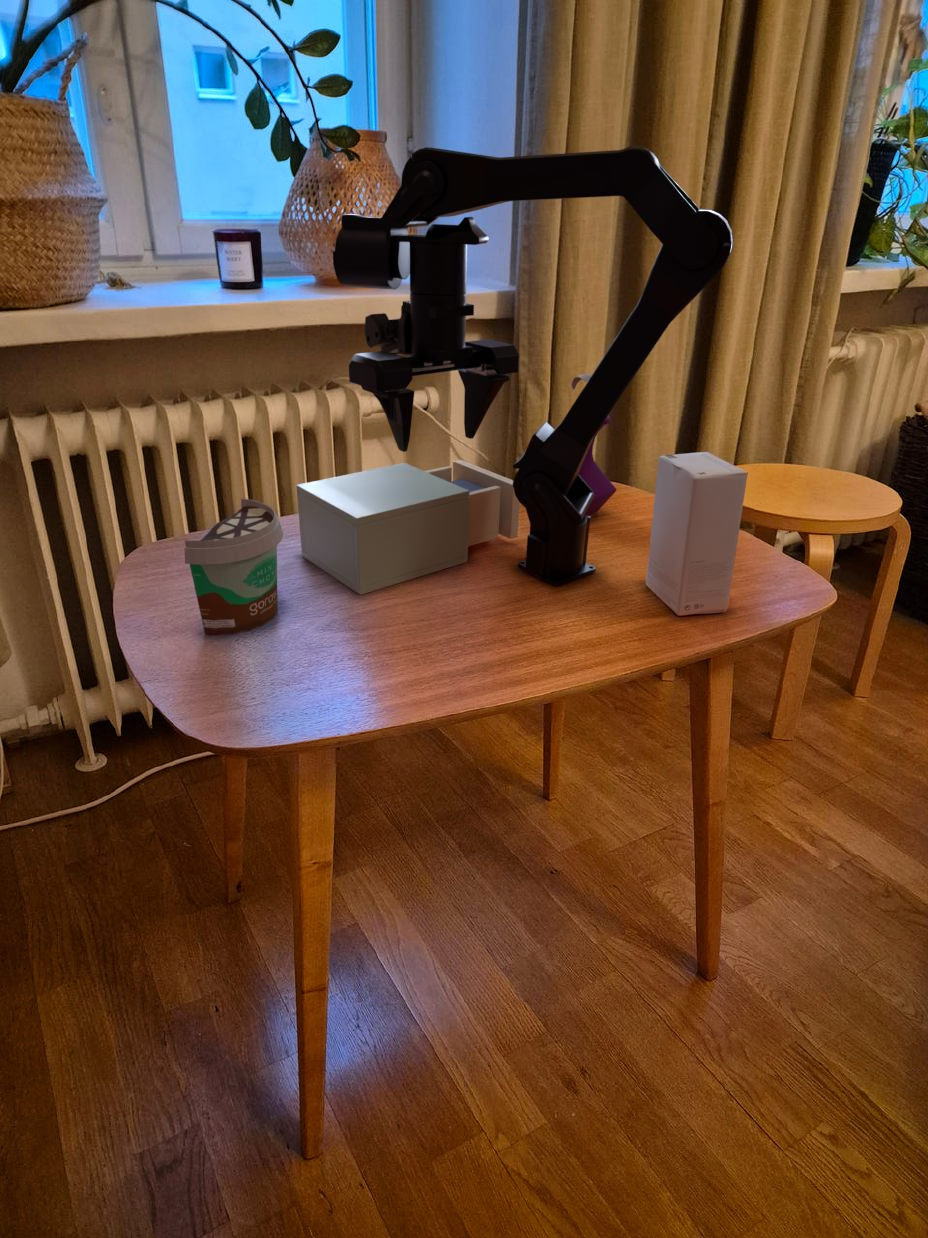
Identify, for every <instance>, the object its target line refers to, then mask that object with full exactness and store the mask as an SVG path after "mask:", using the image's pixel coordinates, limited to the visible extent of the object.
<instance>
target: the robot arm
mask: <svg viewBox="0 0 928 1238" xmlns="http://www.w3.org/2000/svg"><path fill="white" fill-rule="evenodd" d="M400 182H401V183H400V187H398V190H397V192H396V193H395V195H394V196H393V198H392V200H391V201H390V203H389V205H388V206H387V208H386V209H385V211H384V213H383V214H382V216H381V217H379V216H366V215H364V214H359V213H357V214H356V213H346V214H345V213H344V214H342V215H341V216H340V217H341V228H340V229H339V231H338V233H337V235H336V239H335V244H334V250H333V251H332V262H333V269H334V275H335V277H336V280H337V281H338V282H339V284H340V285H341V286H342V287H346V288H363V289H377V290H393V291H395V290H397V289H398V288H400V286H401V284H402V282H403V280H407V279H408V278H409V300H404V301H402V305H401V307H400V317H398V318H393V319H389V316H388V315H387V313H385V312H382V313H371V314H369V315H367V316H365V317H364V336H365V342H366V344H367V347H369V349H375V348H380V350H378V351H368V352H359V353H354V354H353V356H352V358H351V360H350V361H349V364H348V381H349V383H352V384H355V385H358V386H360V387H361V389H362V391H365V392H368V393H370V394H372V395H373V396H374V397H375V398H376V400H377V401H378V402H379V405H380V407H381V408H382V411H383V412H384V414H385V417H386V420H387V423H388V425H389V427H390V430H391V433H392V435H393V439H394V441H395V444H396V447H397V449H398V450H399V451H400V452H403V453H405V452H407V451H408V449H409V444H410V438H411V430H412V421H413V409H414V401H415V390H414V389H409V388H408V387H409V385H410V384H411V382H412V381H413V377H416V376H424V375H430V374H431V375H432V374H437V373H438V374H439V373H445V372H446V373H447V372H454V371H457V372H458V374H459V377H460V380H461V382H462V384H463V388H464V395H463V396H464V400H463V402H464V403H463V405H464V406H463V407H464V408H463V409H464V410H463V426H464V437H465V438H467V439H471V440H473V439H474V438H475V436H476V434H477V433H478V430H479V428H480V426H481V425H482V422H483V421H484V419H485V416H486V414H487V412H488V411H489V409H490V407H491V405H492V403H493V402H494V401H495V399H496V397H497V395H498V394H499V392H500V390H501V389H502V387H503V386H504V384H505V383H506V382H510V380H511V375H509V374H517V373H519V370H520V354H519V352H518V350H517V348H516V346H515V344H512V343H508V342H502V341H498V340H493V339H489V338H488V339H478V340H471V341H470V340H469V341H466V328H467V327H466V326H467V325H466V323H467V322H466V321H467V320H466V319H467V317H468V316H469V317H471V316H474V315H475V304H472V303H467V279H468V278H467V276H468V275H467V273H468V270H467V269H468V245H469V246H477V245H482V244H483V245H484V244H487V243H489V239H490V238H489V236H488V235H487V234H486V233H485V232H484V231H483V229H482V228H480V227H479V225H478V224H477V222H476V220H475V218H474V217H473V216H465V217H463V218H462V220H461V221H460V222H459V223H458V224H444V223H442V224H439V223H434V222H435V221H436V220H438V219H439V218H450V217H456V216H459V215H463V214H468V213H472V212H475V211H476V212H477V211H480V210H483V209H486V208H490V207H494V206H497V205H501V204H505V203H508V202H521V201H522V202H524V201H543V200H544V201H545V200H547V201H548V200H567V199H568V200H569V199H589V198H590V199H591V198H608V197H609V198H610V197H621V198H624V199H625V201H626V202H627V203H628V204H629V205H630V206H631V208H632V209H633V210H634V211H635V212H636V214H637V216H638V217H640V219H641V220H642V221H643V223H644V224H645V225H646V226H647V228H648V229H649V230H650V231H651V233H652V234H653V236H655V237H656V239H658V241H659V242H660V243H661V247H660V249H659V251H658V253H657V255H656V257H655V260H654V263H653V265H652V267H651V270H650V272H649V275H648V278H647V280H646V282H645V285H644V288H643V290H642V292H641V295H640V298H639V299H638V302H637V304H636V305H635V307H634V309H633V310H632V311H631V313H630V315H629V316H628V318H627V319H626V321H625V323H624V324H623V326H622V328H621V329H620V330H619V332H618V333H617V335H616V337H615V338H614V339H613V341H612V343H611V344H610V346H609V348H608V349H607V351H606V353H605V354H604V356H603V357H602V358H601V360H600V362H599V363H598V365H597V366H596V368H595V369H594V371H593V372H592V373H591V374H592V376H591V377H590V379H589V380H588V382H587V383H585V385H584V387H583V388H582V390H581V391H580V393H579V394H578V396H577V397H576V399H575V401H574V402H573V404H572V405H571V407H570V408H569V410H568V412H567V413H566V415H565V416H564V418H563V420H562V421H561V422H560V423H559V424H558V425H557V426H556V427H555V428H554V427H552V426H551V424H549V423H548V422H547V421H545V422H543V424H541V426H540V427H539V428H538V429H536V431H535V432H534V433H533V434H532V436H531V438H530V440H529V441H528V445H527V447H526V449H525V451H524V453H522V455H521V456H520V457H518V459H517V460H516V462H514V464H512V468H513V469H516V470H517V471H516V473H515V474H514V477H513V479H512V480H513V488H514V492H515V496H516V497H517V499H518V501H519V502H520V503H519V504H520V505H522V506H523V507H524V508H525V511H526V514H527V515H526V516H527V518H528V521H529V534H527V539H526V552H525V554H526V555H525V559H524V560H521V561H518V562H517V567H518V568H519V569H521V570H523V571H525V572H526V573H529V574H531V575H533V576H535V577H537V578H539V579H541V580H543V581H545V582H547V583H549V584H551V585H553V586H560V585H563V584H566V583H569V582H572V581H575V580H577V579H580V578H583V577H585V576H588V575H591V574H594V573H596V570H597V568H596V566H594V565H592V564H589V563H588V562H587V555H588V546H589V535H590V526H591V515H589V516H587V515H585V513H586V511H587V509H588V507H589V505H590V503H591V501H592V499H593V497H594V495H595V493H594V491H593V490H592V489H591V488H590V487H589V485H588V484H587V483H586V482H585V481H584V480H583V478H582V477H581V476H580V475H579V474H578V473H579V471H580V469H581V466H582V464H583V462H584V460H585V457H586V455H587V453H588V450H589V448H590V445H591V443H592V440H593V438H594V436H595V434H596V432H597V431H598V429H599V428H600V426H601V425H602V423H603V422H604V420H605V419H606V417H607V416H609V414H610V413H611V412H612V410H613V409H614V407H615V405H616V404H617V403H618V401H619V400H620V399H621V397H622V395H623V394H624V392H625V391H626V389H627V388H628V386H629V385H630V383H631V382H632V380H633V379H634V378H635V376H636V375H637V373H638V372H639V370H640V368H641V367H642V366H643V364H644V363H645V361H646V359H647V358H648V357H649V355H650V354H651V352H652V351H653V349H654V348H655V346H656V345H657V343H658V342H659V340H660V339H661V338H662V336H663V334H665V331H666V330H667V328H668V327H669V325H670V324H671V323H672V322H673V321H674V320H675V319H676V318H677V317H678V316H679V315H680V314H681V313H682V311H683V310H685V308H686V307H688V305H689V304H690V303H691V302H692V301H694V299H695V298H696V297H697V296H698V295H699V294H700V293H701V292H702V290H704V289H705V288H706V286H707V285H708V284H709V283H710V282H711V281H712V280H713V279H714V278H715V277H716V276H717V275H718V273H719V272H720V271H721V270H722V269H723V268H724V267H725V265H726V263H727V261H728V259H729V257H730V255H731V252H732V249H733V242H734V240H733V230H732V228H731V226H730V224H729V222H728V220H727V219H726V218H725V217H724V216H723V215H722V214H721V213H719V212H716V211H714V210H712V209H700V208H699V207H698V206H697V204H696V203H695V202H694V201H693V200H692V199H691V197H689V195H688V194H687V193H686V192H685V190H684V189H682V187H681V186H680V185H679V184H678V183H677V182H676V181H675V180H674V179H673V178H672V177H671V176H670V175H669V173H668V172H667V171H666V170H665V169H664V167H663V166H662V165H661V164H660V162H659V159H658V157H657V155H655V154H654V152H652V151H651V150H649V149H648V148H646V147H644V146H639V145H630V146H627V147H625V148H622V149H614V150H613V149H612V150H599V151H598V150H597V151H582V152H581V151H580V152H567V153H565V152H564V153H551V154H535V155H518V156H504V157H503V156H502V157H501V156H500V157H499V156H491V155H484V154H478V153H471V152H463V151H457V150H450V149H444V148H435V147H428V146H427V147H422V148H419V149H417V150H415V151H414V152H412V153H411V155H410V156H409V158H408V159H407V161H406V162H405V164H404V167H403V169H402V172H401V181H400ZM432 223H433V224H432ZM429 225H430V226H429ZM415 227H416V228H418V227H428V228H427V231H426V232H425V234H408V228H415ZM408 355H409V356H408ZM406 356H408V357H406Z"/></svg>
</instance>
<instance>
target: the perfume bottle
mask: <svg viewBox="0 0 928 1238" xmlns="http://www.w3.org/2000/svg"><path fill="white" fill-rule="evenodd" d="M592 374H593V373H583V374H579V375H577V376H574V378H573V379H572V381H571V388H572V390H573V391H574V390H575V389H576V387H577V385H578V383H580V381H581V380H582V381H584V382H585V384H587V382H588V380H589V379H590V377H591V376H592ZM608 424H611V417H610V416H609V415H608V416H607V417H606V419H605V420H604V422H603V423H602V425H601V426H600V428H599V429H598V431H597V432H596V434H595V436H594V438H593V440H592V443H591V445H590V448H589V450H588V453H587V455H586V457H585V460H584V462H583V464H582V466H581V469H580V471H579V473H578V474H579V475H580V476H581V477H582V478H583V480H584V481H585V482H586V483H587V484H588V485H589V487H590V488H591V489H592V490H593V491H594V493H595V495H594V497H593V499H592V501H591V503H590V505H589V507H588V509H587V511H586V513H585V515H587V516H592V515H594V514H596V513H598V512H599V510H600V509H601V508H602V507H603V506H605V504H606V503H607V502H608V501H609V500H610V499H611V497H612V496H613V495H614V494H615V493H616V492H617V488H616V486H615V485H614V484H613V483H612V482H611V480H610V479H609V478H608V477H607V476H606V475H605V473H604V472H603V471H602V470H601V468H600V467H599V465H598V464H597V463H596V460H595V459H594V455H593V449H594V444H595V441H596V437H597V435H598V433H599V432H600V431H601V430H602V429H603V427H604V426H605V425H608Z"/></svg>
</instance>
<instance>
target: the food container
mask: <svg viewBox="0 0 928 1238" xmlns="http://www.w3.org/2000/svg"><path fill="white" fill-rule="evenodd" d="M240 502H241V503H240V505H241V508H240V509H238V511H237V512H236V513H234V514H233V515H231V516H230V517H227V518H224V519H222V520H220V521H218V522H217V523H216V524H215V525H214V526H213V527H212V528H211V529H210V530H209V531H208V533H206V534H205V535H204V537H203V538H200V540H191V539H185V540H184V544H185V547H184V564H187V565H189V567H190V572H191V577H192V583H193V587H194V591H195V595H196V600H197V604H198V608H199V613H200V617H201V622H202V627H203V632H204V635H214V636H215V635H216V636H218V635H219V636H221V635H235V634H240V633H244V632H245V633H246V632H250V631H252V630H255V629H257V628H260V627H262V626H265V625H266V624H267V623H270V622H271V621H272V620H273V619H274V618H275V617H276V615H277V613H278V548H277V547H278V545H279V544H280V543H281V542H282V541H283V538H284V531H283V528H282V525H281V522H280V518H279V515H277V514H276V512H275V510H274V508H272V507H271V506H270V505H268V504H266V503H264V502H261V501H258V500H254V499H250V498H243V497H241V498H240Z"/></svg>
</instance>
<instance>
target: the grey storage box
mask: <svg viewBox="0 0 928 1238" xmlns="http://www.w3.org/2000/svg"><path fill="white" fill-rule="evenodd" d="M425 471H426V470H422V469H420V468H418V467H416V466H412V465H411V464H408V463H406V462H401V463H395V464H391V465H387V466H386V465H385V466H382V467H377V468H372V469H366V470H363V471H358V472H357V471H356V472H353V473H348V474H343V475H342V474H341V475H338V476H334V477H329V478H324V479H319V480H315V481H309V482H303V483H299V484H296V496H297V497H296V498H297V511H298V520H299V522H298V523H299V534H300V535H299V537H300V549H301V557H303V558H304V559H306V560H307V561H309V562H310V563H312V564H313V565H315V566H316V567H318V568H319V569H321V570H323V571H324V572H325V573H326V574H329V575H330V576H331V577H333V578H334V579H335V580H337V581H339V582H340V583H341V584H343V585H344V586H346V587H347V588H349V589H350V590H352V591H353V592H355V593H357V594H358V595H359V596H361V595H364V594H368V593H371V592H374V591H377V590H382V589H384V588H387V587H390V586H393V585H397V584H400V583H403V582H406V581H409V580H413V579H416V578H420V577H423V576H426V575H429V574H433V573H437V572H439V571H441V570H445V569H448V568H453V567H455V566H458V565H461V564H464V563H468V559H469V552H468V551H469V546H468V526H469V490H466V489H464V488H462V487H459V486H457V485H455V484H452V483H450V482H448V481H445V480H443V479H441V478H439V477H436V476H434V475H432V474H429V473H427V472H425Z"/></svg>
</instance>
